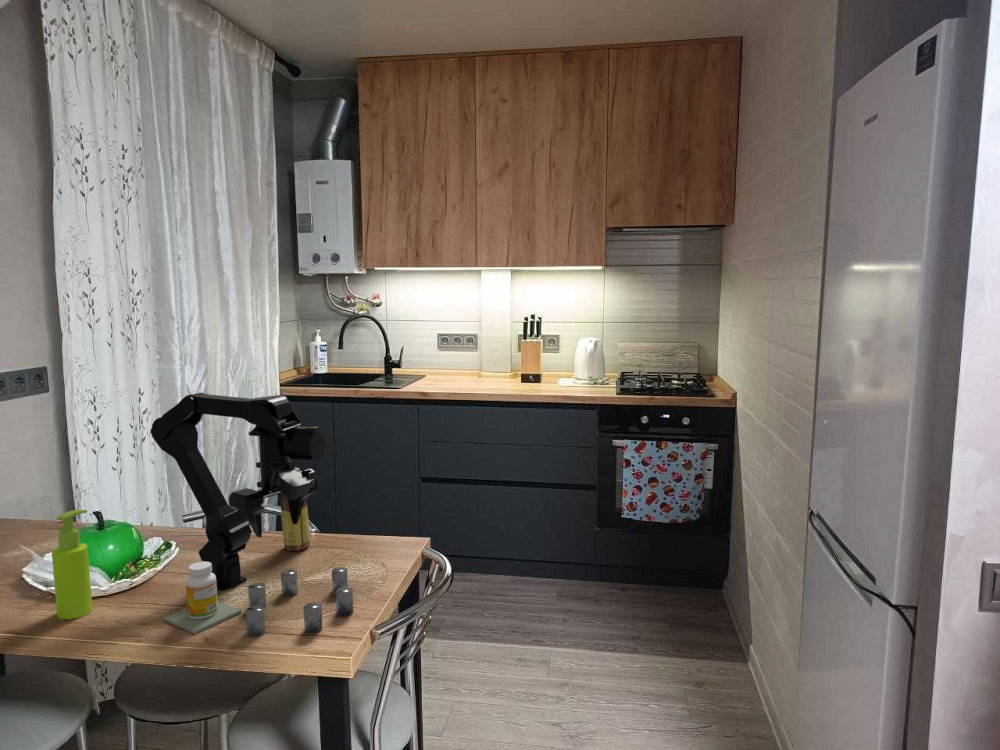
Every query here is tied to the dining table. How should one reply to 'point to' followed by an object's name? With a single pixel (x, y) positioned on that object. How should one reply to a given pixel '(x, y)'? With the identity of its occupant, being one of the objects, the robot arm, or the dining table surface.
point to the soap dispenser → (71, 571)
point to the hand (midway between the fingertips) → (277, 530)
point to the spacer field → (311, 610)
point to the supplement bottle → (201, 591)
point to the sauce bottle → (294, 526)
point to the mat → (199, 625)
